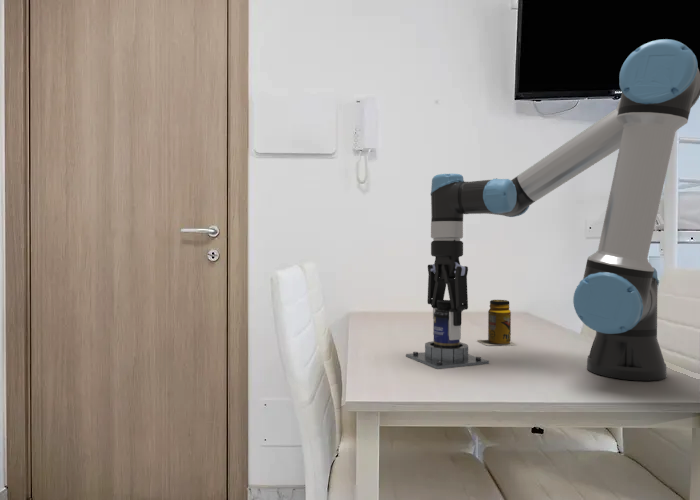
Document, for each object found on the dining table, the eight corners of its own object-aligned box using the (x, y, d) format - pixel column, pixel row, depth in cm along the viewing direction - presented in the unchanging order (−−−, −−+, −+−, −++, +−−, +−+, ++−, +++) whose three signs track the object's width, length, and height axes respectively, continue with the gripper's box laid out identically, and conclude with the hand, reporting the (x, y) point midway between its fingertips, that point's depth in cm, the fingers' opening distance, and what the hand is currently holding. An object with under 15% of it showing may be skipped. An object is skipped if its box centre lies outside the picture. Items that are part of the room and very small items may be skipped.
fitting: (489, 363, 120) (489, 348, 120) (437, 369, 115) (437, 352, 115) (454, 352, 133) (454, 337, 133) (406, 356, 128) (406, 341, 128)
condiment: (516, 345, 143) (516, 301, 142) (486, 346, 141) (487, 302, 141) (504, 340, 150) (505, 298, 150) (476, 341, 149) (476, 299, 148)
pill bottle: (428, 345, 125) (428, 300, 125) (449, 343, 128) (449, 299, 128) (443, 350, 120) (443, 302, 120) (465, 348, 122) (465, 301, 122)
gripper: (485, 239, 116) (484, 342, 116) (438, 240, 134) (438, 330, 134) (456, 239, 113) (456, 345, 114) (413, 240, 131) (412, 331, 131)
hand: (446, 336), depth 124 cm, fingers closed on pill bottle, 6 cm apart
